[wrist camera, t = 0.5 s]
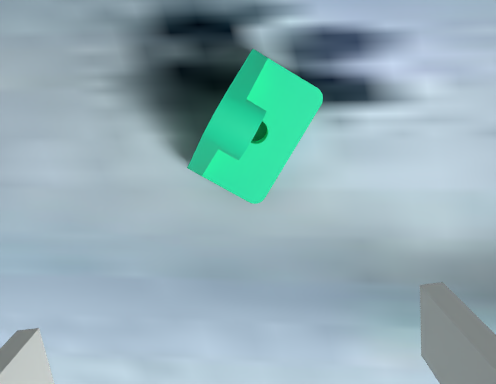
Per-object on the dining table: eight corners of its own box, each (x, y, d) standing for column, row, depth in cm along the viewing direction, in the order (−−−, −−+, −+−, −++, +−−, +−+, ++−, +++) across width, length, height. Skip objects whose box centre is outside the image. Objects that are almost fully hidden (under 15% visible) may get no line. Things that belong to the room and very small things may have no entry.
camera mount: (258, 200, 42) (262, 235, 32) (190, 162, 41) (173, 187, 31) (322, 93, 39) (348, 95, 29) (252, 51, 38) (254, 38, 28)
